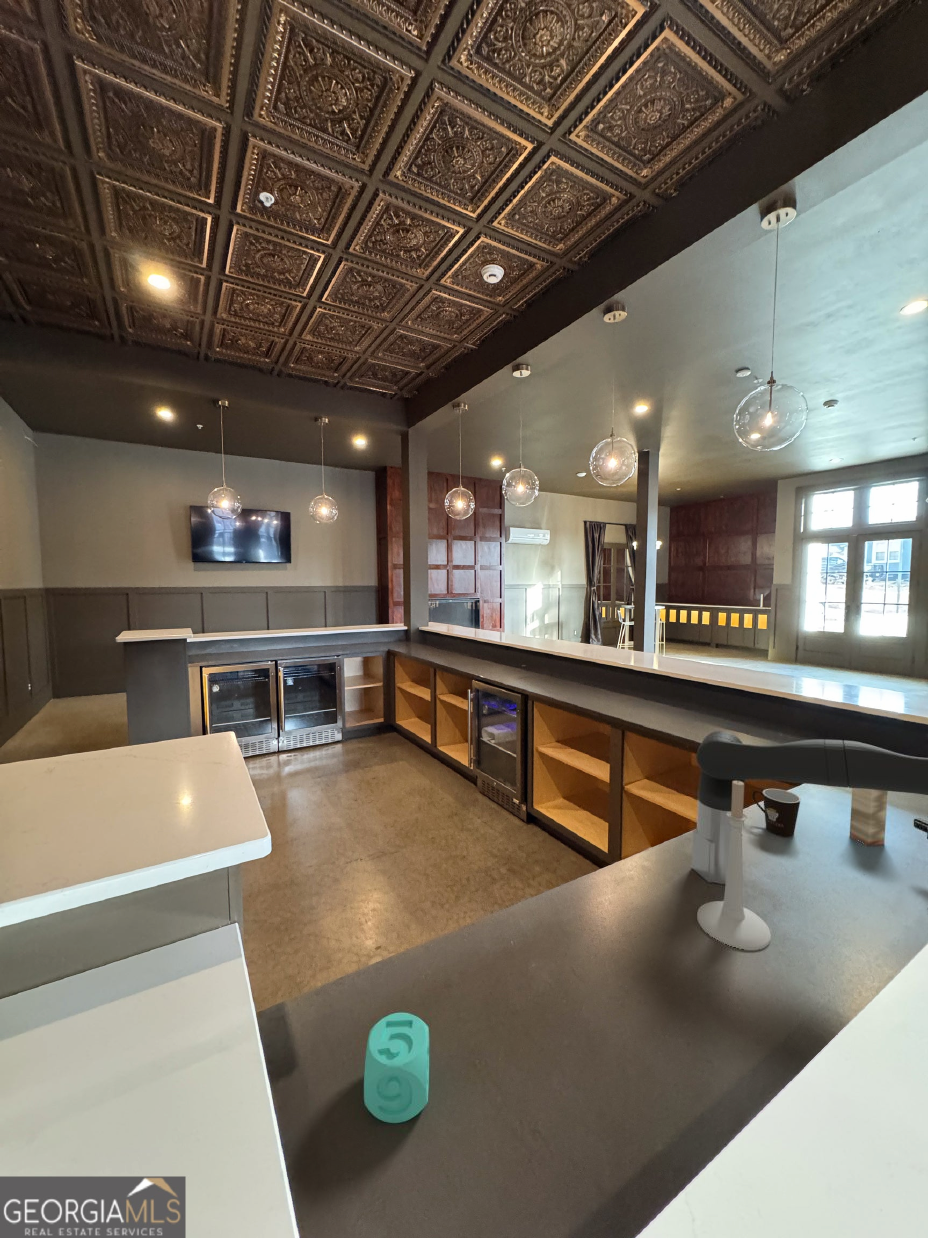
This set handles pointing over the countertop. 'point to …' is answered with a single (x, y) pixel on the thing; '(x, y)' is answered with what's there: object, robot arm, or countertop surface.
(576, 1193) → the countertop surface
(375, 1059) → the decorative dice
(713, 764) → the robot arm
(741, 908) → the candlestick
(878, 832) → the maple block
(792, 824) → the coffee mug
